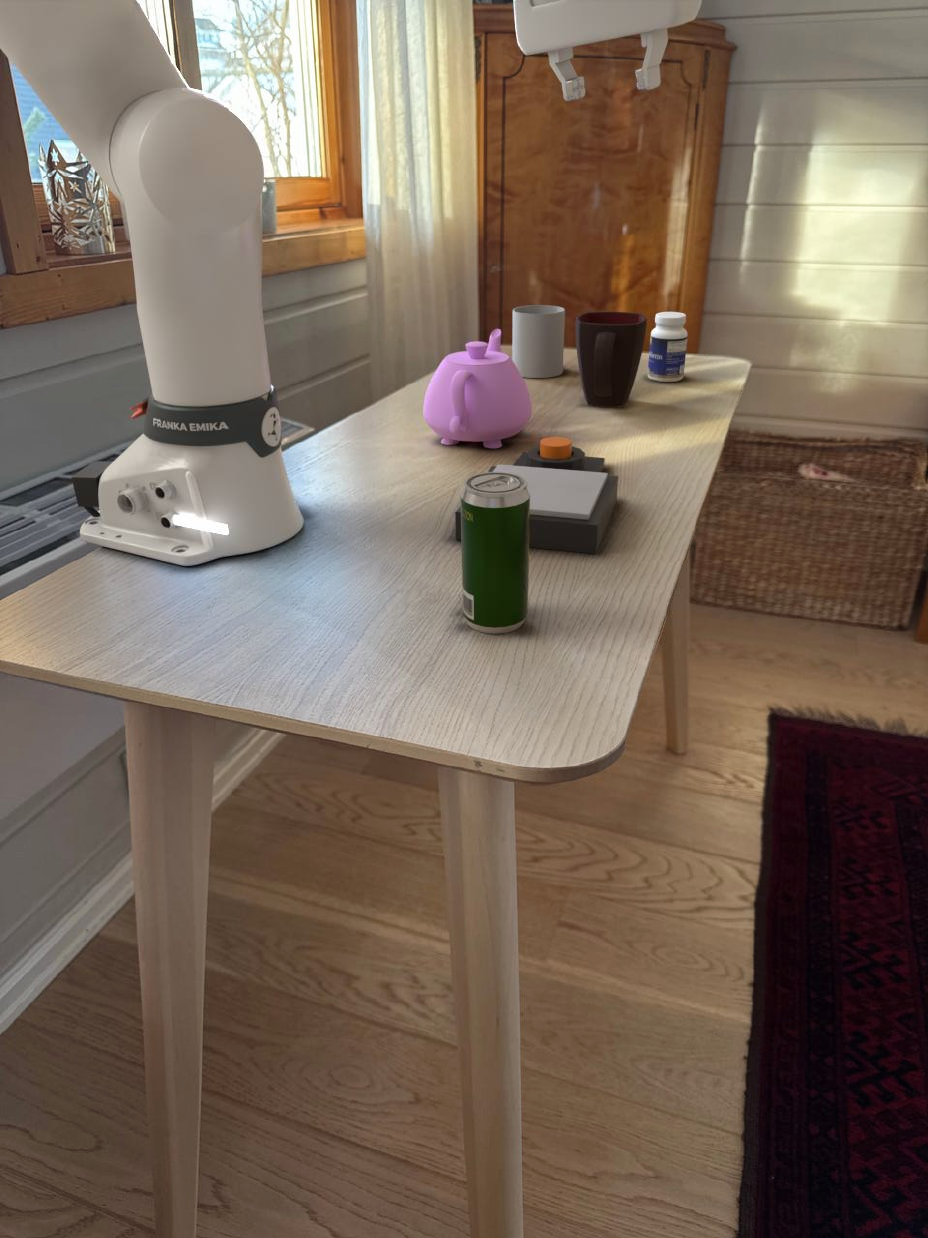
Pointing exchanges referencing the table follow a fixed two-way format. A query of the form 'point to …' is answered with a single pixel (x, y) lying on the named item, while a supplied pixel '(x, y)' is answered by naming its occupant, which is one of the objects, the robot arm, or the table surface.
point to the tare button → (555, 448)
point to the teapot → (477, 396)
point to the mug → (609, 355)
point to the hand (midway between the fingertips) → (610, 93)
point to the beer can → (495, 551)
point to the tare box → (561, 461)
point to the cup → (538, 340)
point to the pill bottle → (668, 347)
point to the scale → (564, 507)
